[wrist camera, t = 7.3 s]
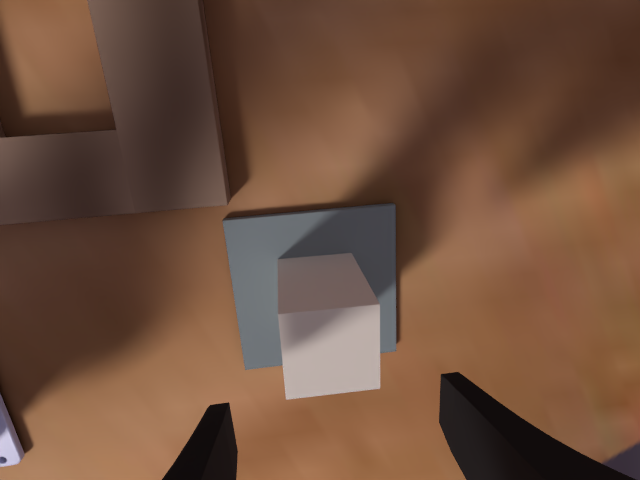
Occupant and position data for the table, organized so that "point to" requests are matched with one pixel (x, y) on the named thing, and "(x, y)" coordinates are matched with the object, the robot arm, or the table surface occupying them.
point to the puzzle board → (130, 126)
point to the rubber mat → (303, 241)
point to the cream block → (327, 326)
